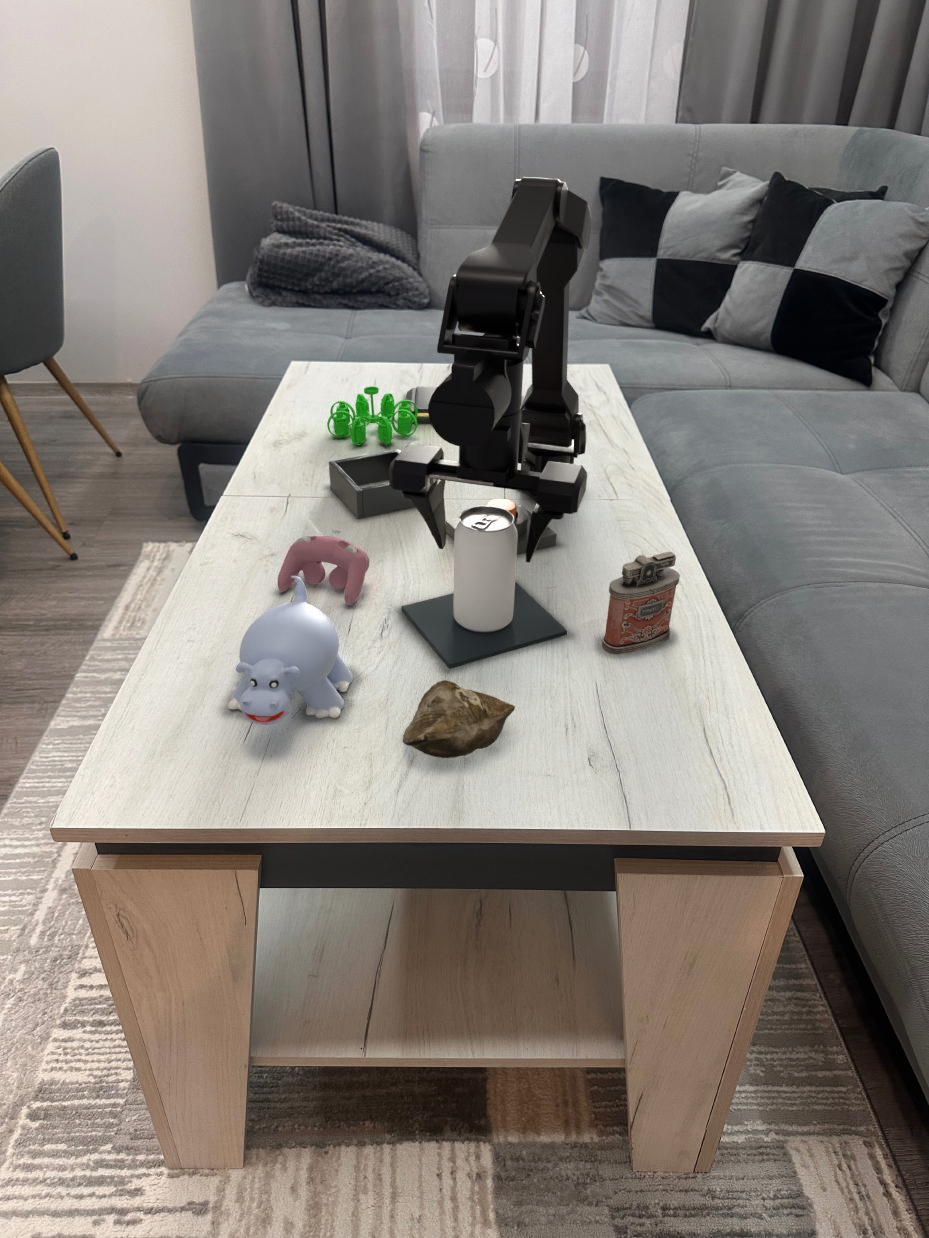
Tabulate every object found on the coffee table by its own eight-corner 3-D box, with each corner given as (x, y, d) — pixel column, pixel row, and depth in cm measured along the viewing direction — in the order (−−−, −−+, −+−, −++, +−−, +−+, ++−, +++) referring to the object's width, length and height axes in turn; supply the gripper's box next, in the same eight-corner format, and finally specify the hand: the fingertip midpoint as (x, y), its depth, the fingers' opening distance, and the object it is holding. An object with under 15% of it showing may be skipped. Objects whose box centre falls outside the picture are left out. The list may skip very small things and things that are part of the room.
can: (524, 613, 96) (530, 514, 89) (492, 641, 91) (496, 539, 85) (474, 595, 99) (477, 498, 92) (441, 621, 94) (441, 521, 88)
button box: (520, 516, 117) (521, 492, 115) (556, 545, 110) (558, 520, 108) (445, 532, 113) (445, 507, 111) (478, 564, 106) (479, 538, 104)
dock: (399, 475, 127) (399, 449, 125) (431, 504, 119) (431, 477, 117) (330, 488, 123) (328, 461, 121) (357, 519, 115) (356, 491, 113)
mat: (511, 582, 102) (511, 578, 102) (567, 635, 94) (567, 630, 93) (401, 610, 97) (401, 606, 97) (449, 669, 88) (449, 664, 88)
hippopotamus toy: (205, 749, 78) (189, 662, 72) (256, 651, 90) (245, 571, 85) (325, 759, 77) (317, 672, 71) (360, 659, 89) (355, 578, 84)
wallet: (520, 384, 156) (523, 415, 143) (519, 394, 157) (523, 426, 144) (407, 382, 156) (401, 412, 143) (407, 392, 157) (401, 423, 144)
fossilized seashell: (413, 764, 73) (525, 759, 76) (414, 684, 73) (527, 683, 76) (391, 750, 80) (495, 746, 83) (392, 677, 80) (496, 676, 83)
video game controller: (368, 604, 101) (377, 544, 100) (351, 607, 96) (361, 544, 95) (291, 588, 103) (299, 529, 102) (271, 590, 99) (280, 529, 98)
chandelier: (309, 442, 137) (304, 400, 133) (353, 408, 148) (349, 368, 145) (397, 456, 133) (395, 412, 129) (435, 420, 144) (434, 379, 140)
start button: (506, 508, 112) (507, 496, 111) (520, 520, 109) (521, 507, 108) (481, 514, 110) (482, 501, 109) (495, 526, 108) (496, 513, 107)
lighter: (614, 659, 90) (625, 574, 85) (595, 641, 93) (605, 559, 87) (676, 639, 93) (691, 557, 88) (656, 623, 96) (669, 542, 90)
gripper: (602, 390, 86) (587, 532, 95) (422, 371, 91) (423, 508, 99) (584, 430, 77) (569, 582, 86) (384, 406, 82) (389, 554, 90)
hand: (485, 553), depth 91 cm, fingers open, 9 cm apart
